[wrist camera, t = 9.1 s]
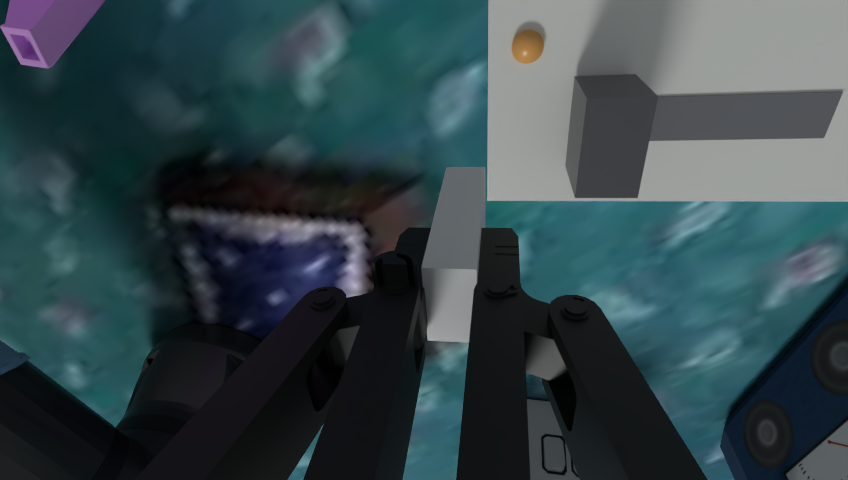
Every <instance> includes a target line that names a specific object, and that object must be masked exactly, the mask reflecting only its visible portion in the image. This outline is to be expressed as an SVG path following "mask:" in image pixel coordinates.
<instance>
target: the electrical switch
mask: <svg viewBox="0 0 848 480" xmlns="http://www.w3.org/2000/svg"><path fill="white" fill-rule="evenodd" d="M527 413H528V435H529V458H530V480H580V479H579V476H578V474H577V471H576V469H575V466H574V463H573V461H572V458H571V456H570V453H569V450H568V448H567V445H566V443H565V440H564V437H563V435H562V432H561V430H560V427H559V424H558V422H557V419H556V417H555V414H554V412H553V409H552V406H551V404H550V402H549V401H540V400H531V399H527Z"/></svg>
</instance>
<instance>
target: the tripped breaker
mask: <svg viewBox="0 0 848 480" xmlns="http://www.w3.org/2000/svg"><path fill="white" fill-rule="evenodd" d="M657 100H658V95H657V94H655V93H654V92H653V91H652V90H651V89H650V88H649V87H648V86H647V85H646V84H645V83H644V82H643V81H642V80H641V79H640V78H639V77H638V76H637V75H636V74H625V75H597V76H574V86H573V96H572V105H571V115H570V125H569V134H568V144H567V153H566V163H565V167H566V170H567V173H568V177H569V180H570V183H571V187H572V190H573V193H574V197H575V198H638V194H639V189H640V184H641V179H642V174H643V169H644V164H645V160H646V155H647V150H648V145H649V140H650V135H651V130H652V125H653V120H654V115H655V110H656V105H657Z"/></svg>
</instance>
